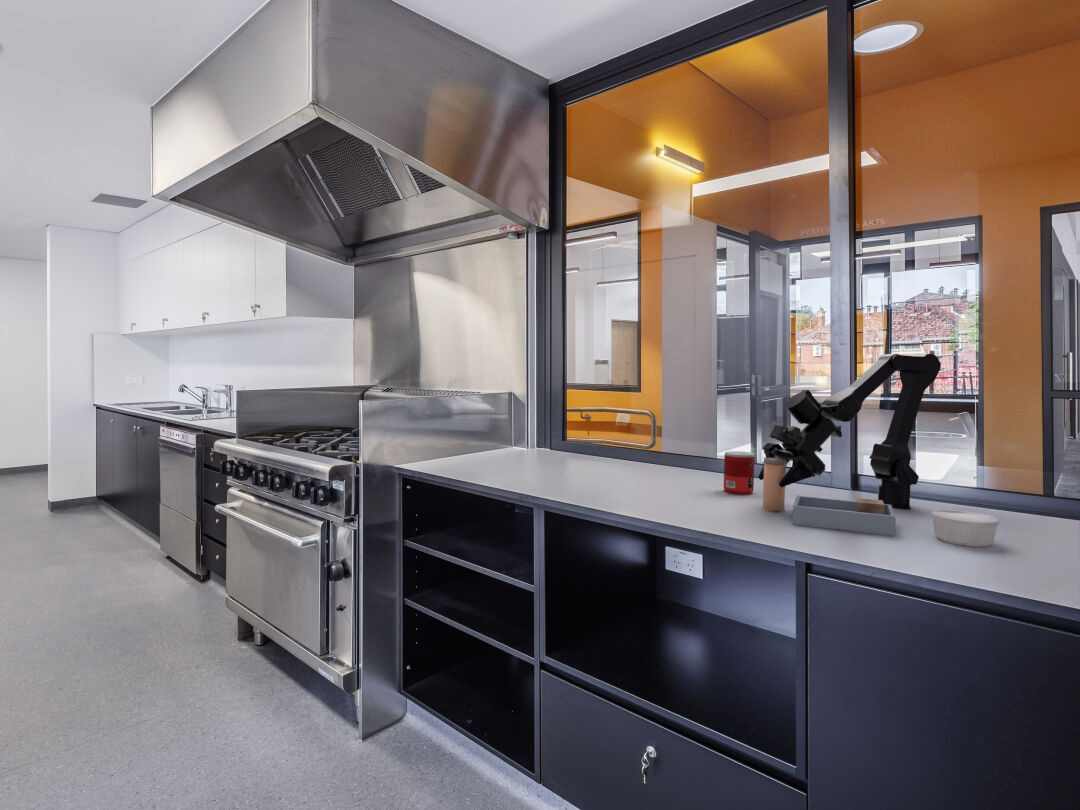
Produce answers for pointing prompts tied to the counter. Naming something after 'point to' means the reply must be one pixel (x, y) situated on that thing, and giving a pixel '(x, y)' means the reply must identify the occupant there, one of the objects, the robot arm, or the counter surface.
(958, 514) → the ramekin
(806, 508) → the tote
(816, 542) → the counter surface
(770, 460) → the shaker
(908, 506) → the robot arm
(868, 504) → the cube
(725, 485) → the canned food
